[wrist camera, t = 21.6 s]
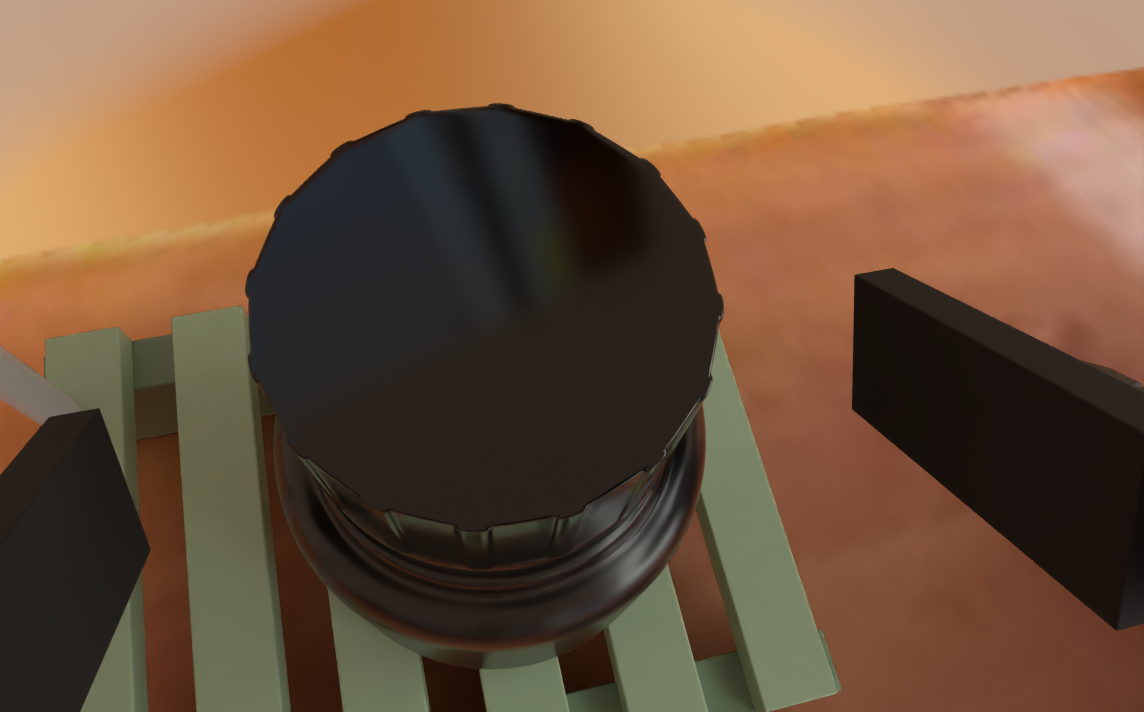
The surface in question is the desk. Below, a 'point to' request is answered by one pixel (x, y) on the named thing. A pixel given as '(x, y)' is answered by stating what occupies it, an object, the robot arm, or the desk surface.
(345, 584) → the ink bottle
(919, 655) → the desk surface
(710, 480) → the drying rack
